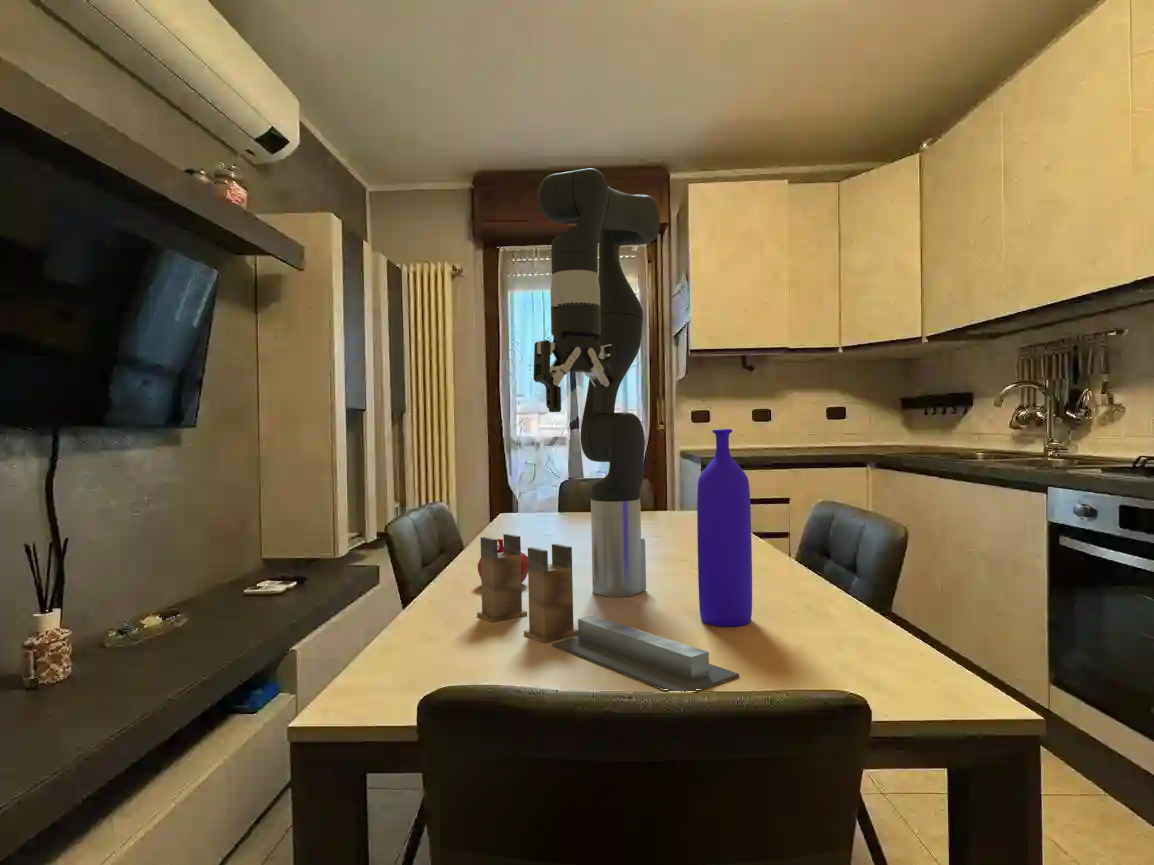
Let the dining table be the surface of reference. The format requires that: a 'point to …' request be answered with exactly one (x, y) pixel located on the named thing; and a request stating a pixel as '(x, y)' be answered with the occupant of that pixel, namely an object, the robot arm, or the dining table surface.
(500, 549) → the pomegranate
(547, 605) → the post
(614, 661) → the mat
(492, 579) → the post
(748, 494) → the bottle
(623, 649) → the rail
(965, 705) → the dining table surface
